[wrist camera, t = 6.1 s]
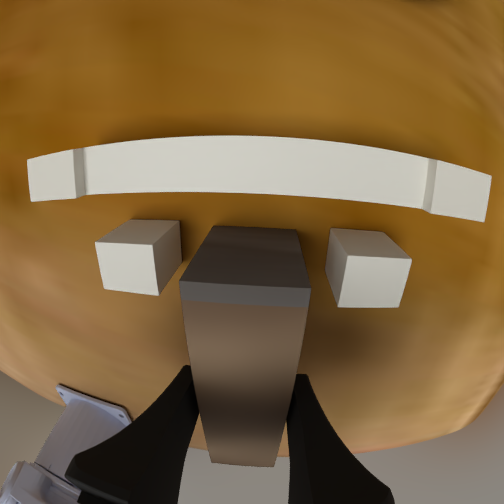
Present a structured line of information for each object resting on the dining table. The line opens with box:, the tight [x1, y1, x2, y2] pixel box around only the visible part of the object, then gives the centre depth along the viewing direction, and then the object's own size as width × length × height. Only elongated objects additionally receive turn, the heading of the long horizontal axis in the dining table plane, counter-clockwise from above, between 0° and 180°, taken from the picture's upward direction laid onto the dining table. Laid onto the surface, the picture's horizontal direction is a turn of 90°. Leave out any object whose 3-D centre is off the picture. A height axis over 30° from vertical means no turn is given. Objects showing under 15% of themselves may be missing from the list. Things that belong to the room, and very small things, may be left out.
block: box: [179, 226, 311, 467], centre depth 12 cm, size 12×4×5 cm, turn 179°
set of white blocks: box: [27, 136, 491, 308], centre depth 9 cm, size 6×15×4 cm, turn 88°
